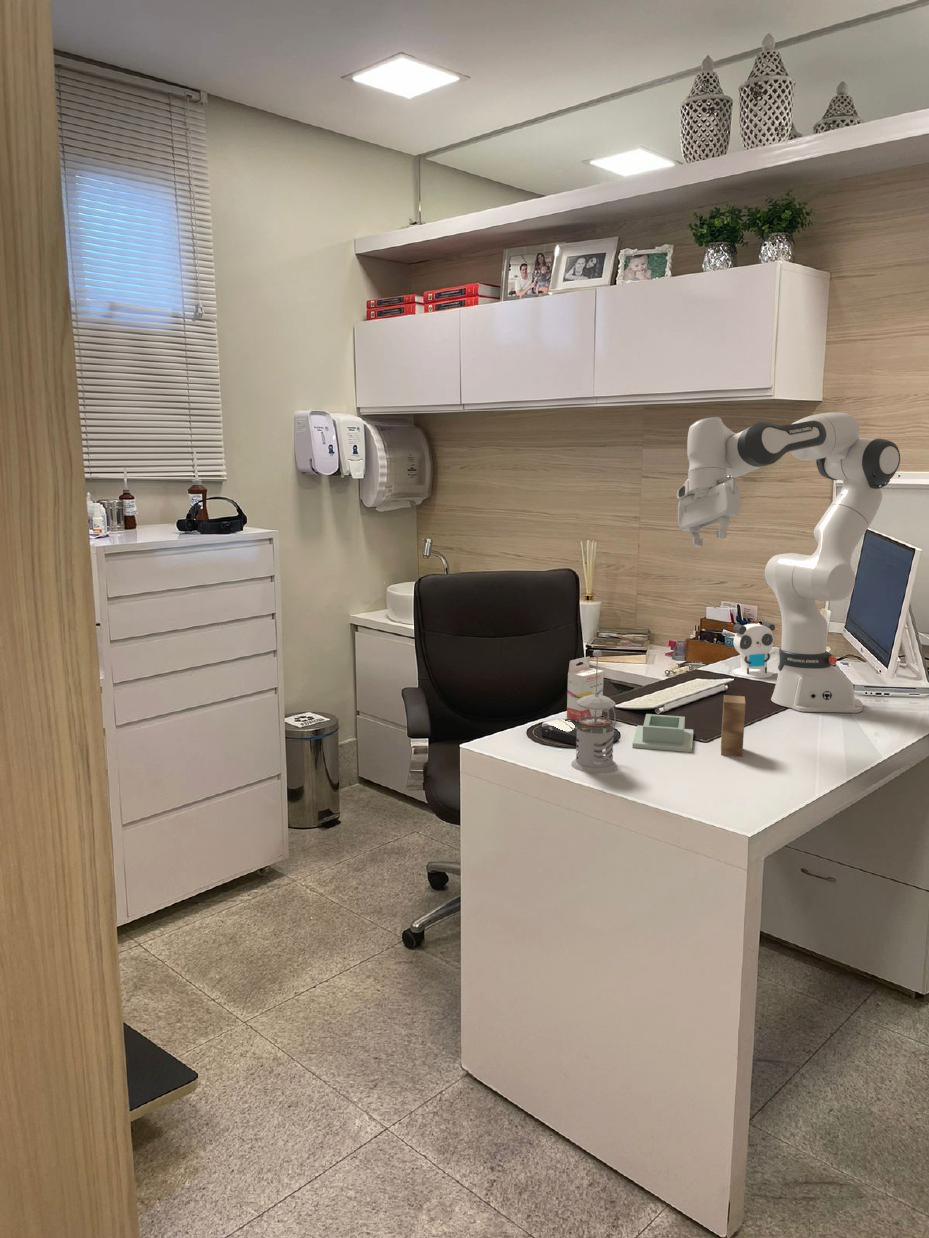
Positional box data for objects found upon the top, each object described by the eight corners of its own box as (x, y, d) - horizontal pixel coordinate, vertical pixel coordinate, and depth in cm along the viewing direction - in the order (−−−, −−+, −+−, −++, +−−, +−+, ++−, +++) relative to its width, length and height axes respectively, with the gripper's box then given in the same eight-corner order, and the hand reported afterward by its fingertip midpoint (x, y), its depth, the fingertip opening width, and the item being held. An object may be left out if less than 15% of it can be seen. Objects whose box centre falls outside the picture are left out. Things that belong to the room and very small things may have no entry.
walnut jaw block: (741, 748, 211) (744, 696, 209) (742, 756, 205) (745, 703, 203) (720, 746, 212) (723, 695, 210) (721, 754, 206) (723, 702, 204)
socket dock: (693, 733, 221) (694, 715, 220) (691, 752, 208) (692, 732, 207) (637, 729, 224) (638, 711, 224) (632, 747, 211) (633, 728, 210)
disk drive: (540, 738, 219) (592, 751, 209) (540, 727, 219) (593, 739, 209) (566, 729, 227) (618, 741, 217) (567, 717, 226) (619, 729, 216)
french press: (561, 765, 199) (564, 650, 195) (591, 752, 208) (594, 641, 203) (601, 776, 193) (605, 657, 188) (630, 761, 202) (634, 648, 197)
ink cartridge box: (581, 722, 230) (583, 664, 227) (566, 718, 233) (567, 660, 231) (603, 715, 236) (605, 658, 233) (587, 711, 239) (589, 655, 236)
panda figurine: (743, 679, 272) (746, 628, 270) (723, 670, 283) (726, 621, 280) (780, 676, 275) (783, 626, 272) (759, 667, 286) (762, 619, 283)
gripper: (746, 474, 213) (748, 534, 211) (694, 496, 232) (696, 551, 230) (722, 471, 211) (724, 532, 209) (672, 494, 230) (674, 549, 228)
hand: (709, 542), depth 220 cm, fingers open, 8 cm apart
